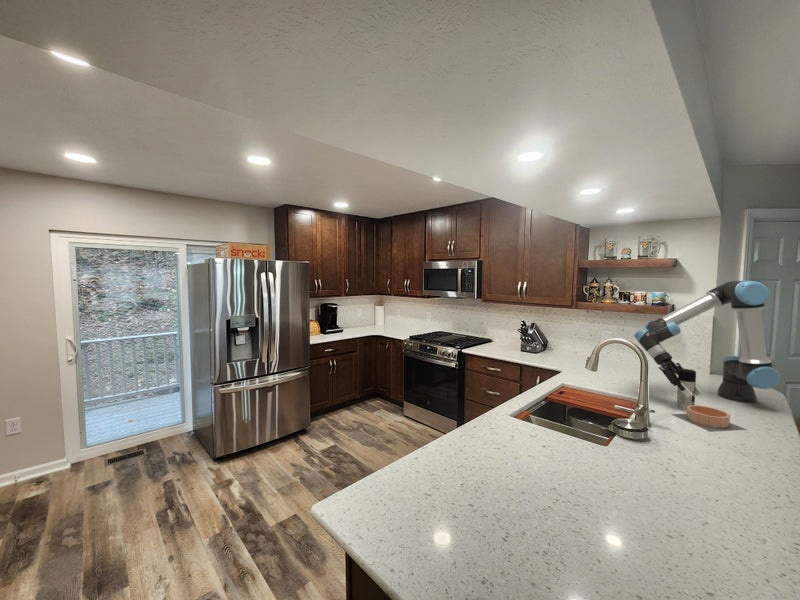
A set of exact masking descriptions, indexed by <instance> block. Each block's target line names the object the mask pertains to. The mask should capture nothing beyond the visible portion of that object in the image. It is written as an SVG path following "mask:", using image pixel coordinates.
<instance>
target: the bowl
mask: <svg viewBox="0 0 800 600" xmlns="http://www.w3.org/2000/svg"><path fill="white" fill-rule="evenodd" d="M685 414H686V416H687V419H688V420H690V421H692V422H694V423H696V424H699V425H703V426H707V427H712V428H721V429H724V428H728V427H729V425H730V423H731V421H730V420H731V414H730V413H728V412H727V411H724V410H721V409H719V408H715V407H711V406H706V405H698V404H696V405H689V406H688V407H687V410H685Z"/></svg>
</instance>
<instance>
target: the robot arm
mask: <svg viewBox="0 0 800 600" xmlns="http://www.w3.org/2000/svg"><path fill="white" fill-rule="evenodd" d="M769 297H770V291H769V289H768V287H767V286H766V285H765V284H763V283H762V282H759V281H754V280H730V281H727V282H724V283H722V284H720V285H718V286H716V287H714V288H712V289H711V290H707V291H706V292H705V295H703V296H701V297H699V298H697V299H695V300H693V301H690V302H689V303H687V304H685V305H683V306H681V307H679V308H677V309H675V310H673V311H671V312H669V313H667V314H666V315H664V316H662V317H660V318H657V319H655V320H649V321H647V322H646V324H645V326H644V328H642V329H640V330H638V331H636V332H635V333H634V335H633V336H634V338H635V339H636V341H637V342H638V344H639V345H640V346H641V347H642V348H643V349H644V351H646V352H647V354H648V355H649V356H650V357H651V358H652V359H653V361H654V362H655V364H657V366H658V369H659V370H660V371H661V372H662V373H663V375H664V377H665V378H667V380H668V381H669V383H671V385H672V386H674V387H676V386H677V388H678V387H679V389H680V390H681V391H682V392H683V393H684V395H685V396H686V397H690V396H692V395H693V394H692V393H691V392H690V391H689V390H688V389H687V387H686V386H685V385H684V384H683V383H681V382H680V380H679V379H678V372H679V369H684V367H682V365H681V364H680V363H679V362H676V363H675V362H674V361H673V357H672V355H671V354H670V353H669V352H667V350H666V348H665V347H664V346H663V345H662V344H661V342H663V341H666V340H668V339H670V338H673V337H675V336H677V335H679V334H681V332H682V331H681V328H680V327H679V325H682V324H683V323H685V322H687V321H689V320H691V319H693V318H695V317H697V316H699V315H701V314H703V313H706V312H708V311H709V310H711V309H714V308H715V307H723V306H724V305H728V304H730V305H731V309H732V310H733V311H735V312H736V319H737V326H738V327H737V328H738V335H739V342H740V343H739V344H740V350H741V351H740V352H741V355H726V356H724V358H723V361H722V362H723V368H722V381H721V383H720V385H719V387H718V389H717V395H718V396H719V397H721V398H724V399H727V400H731V401H735V402H742V403H756V402H757V400H758V397H757V394H756V392H755V388H757V389H761V390H769V389H772V388H774V387H776V385H778V384H779V382H780V380H781V375H780V372H778V370H777V369H775V368H774V367H773V360H771V359H770V358H768V356H767V349H766V342H765V341H766V339H765V334H764V326H763V325H764V324H763V318H762V310H763V309H764V308H765V307H766V305H765V303H766V301H768V299H769ZM701 394H703V392H702V391H701V390H700V389H699V388H698V386H697V385H696V386H695V397H696V396H699V395H701Z"/></svg>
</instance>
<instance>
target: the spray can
mask: <svg viewBox="0 0 800 600" xmlns="http://www.w3.org/2000/svg"><path fill="white" fill-rule="evenodd" d="M696 375H697V371H696V370H694V369H688V368H683V369H679V372H678V375H677V377H678V379H679V380H680V382H681V383H683V384H684V385H685V386H686V387H687V389H688V390H689V391H690V392H691V393H692V394H693V395H692V396H690V397H686V396H685V395H684V393H683V392H682V391H681V390H680V389H679V387H678V386H677V393H676V394H677V395H676V408H677V409H679V410H681V411H686V410H687V407H688V406H689V405H695V400H696V399H695V398H696V395H695V386H696V387H697V385H696V384H697V383H696V381H697V376H696Z"/></svg>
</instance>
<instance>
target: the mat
mask: <svg viewBox="0 0 800 600" xmlns="http://www.w3.org/2000/svg"><path fill="white" fill-rule="evenodd" d="M670 415H671V416H674V417H675V418H677V419H680V420H683V421H685V422H687V423H689V424H691V425H694V426H696V427H698V428H700V429H702V430H706V431H708V432H728V431H730V432H731V431H748V429H747V428H745V427H742V426H740V425H737V424H735V423H732V422H730V425H729V427H728V428H724V429H721V428H712V427H707V426H703V425H699V424H696V423H694V422H692V421H690V420H688V419H687V416H686V413H671V414H670Z"/></svg>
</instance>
